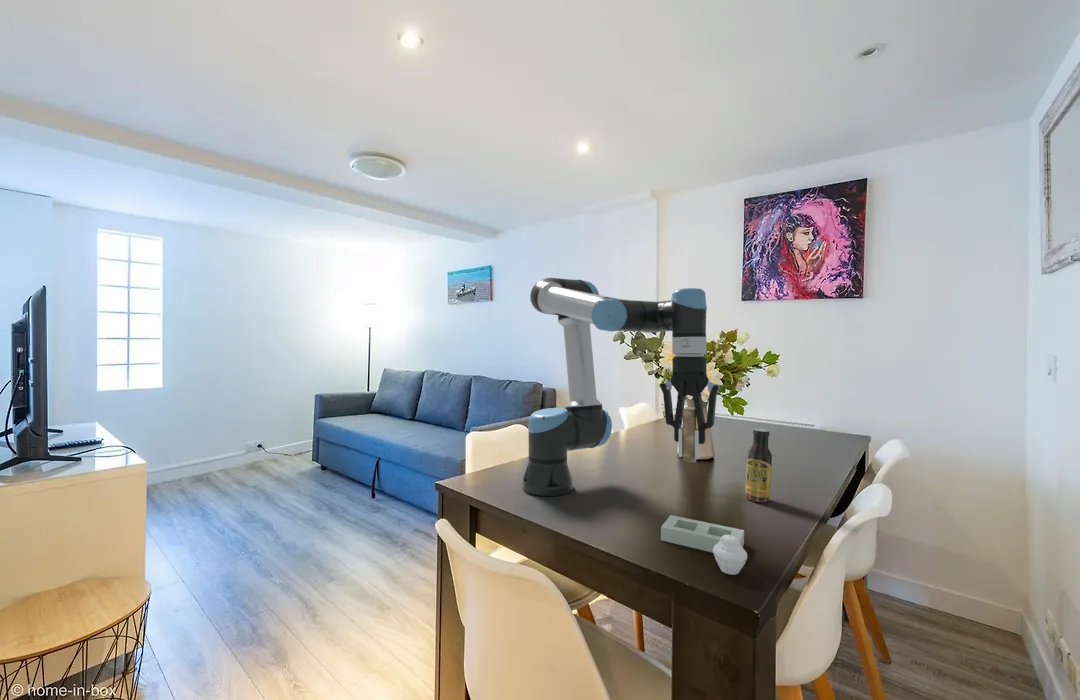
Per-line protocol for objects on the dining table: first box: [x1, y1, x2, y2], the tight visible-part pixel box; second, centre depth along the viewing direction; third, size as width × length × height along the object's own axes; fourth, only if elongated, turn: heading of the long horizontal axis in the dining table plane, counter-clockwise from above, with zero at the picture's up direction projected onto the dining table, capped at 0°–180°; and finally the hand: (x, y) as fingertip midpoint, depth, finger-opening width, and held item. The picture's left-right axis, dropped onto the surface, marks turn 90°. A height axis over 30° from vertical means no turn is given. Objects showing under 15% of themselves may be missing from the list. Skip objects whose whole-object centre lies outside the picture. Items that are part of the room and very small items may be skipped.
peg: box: [682, 408, 697, 463], centre depth 104 cm, size 3×3×12 cm
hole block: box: [660, 514, 745, 554], centre depth 99 cm, size 16×8×3 cm, turn 59°
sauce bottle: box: [745, 428, 773, 504], centre depth 125 cm, size 7×6×20 cm
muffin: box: [713, 535, 748, 576], centre depth 86 cm, size 6×6×7 cm
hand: (689, 456), depth 104 cm, fingers closed on peg, 3 cm apart
